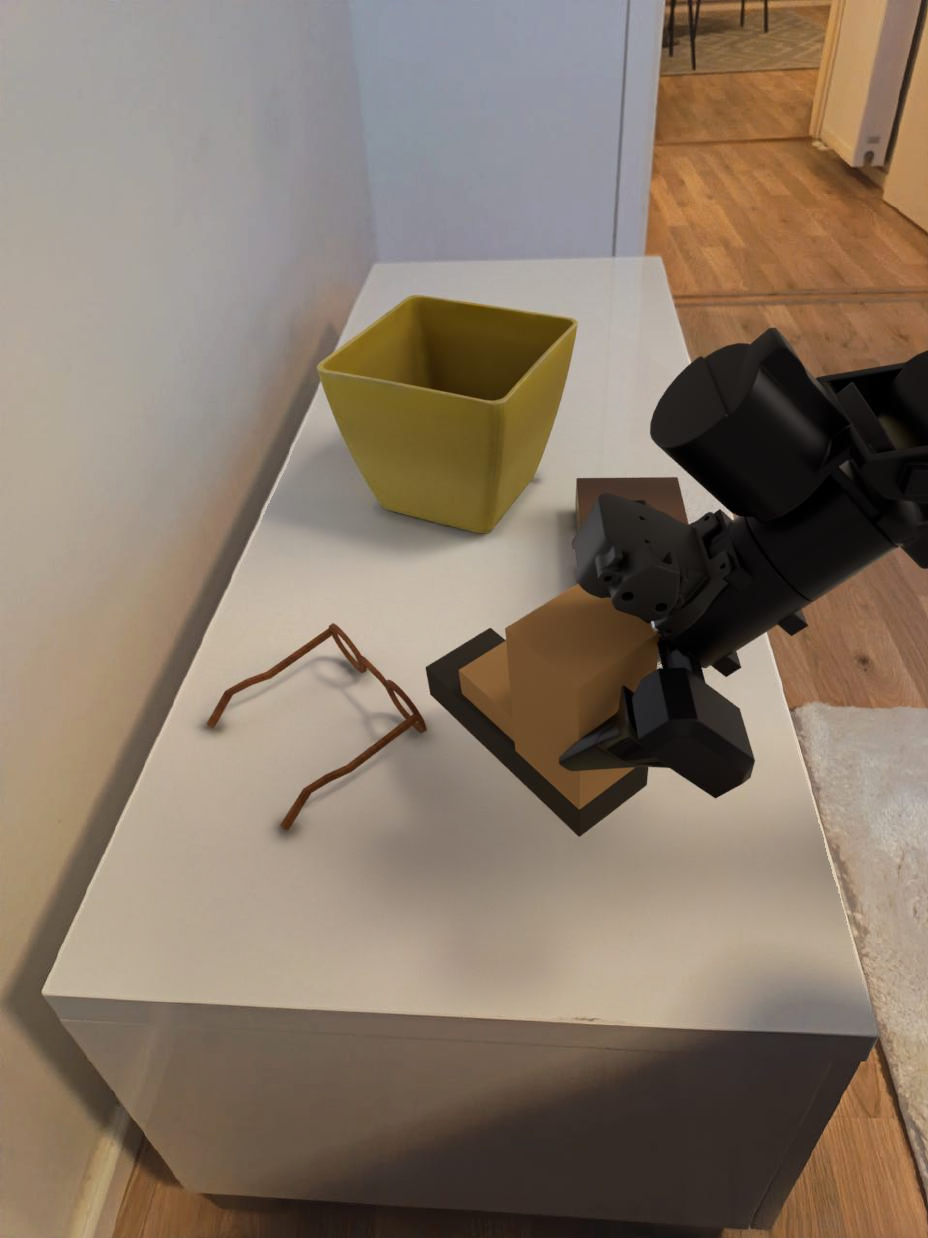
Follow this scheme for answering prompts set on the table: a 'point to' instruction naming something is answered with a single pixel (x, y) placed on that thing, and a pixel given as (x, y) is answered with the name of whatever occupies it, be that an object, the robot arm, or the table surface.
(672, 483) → the brown wooden slab
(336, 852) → the table surface
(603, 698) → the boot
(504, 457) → the flower pot
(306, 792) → the glasses
